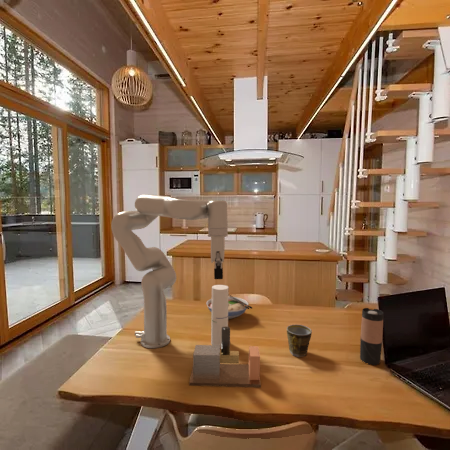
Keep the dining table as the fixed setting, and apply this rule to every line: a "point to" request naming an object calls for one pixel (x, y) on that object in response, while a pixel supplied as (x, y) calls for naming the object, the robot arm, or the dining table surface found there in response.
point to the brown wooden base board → (218, 370)
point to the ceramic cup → (298, 339)
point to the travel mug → (371, 336)
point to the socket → (254, 363)
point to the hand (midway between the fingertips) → (218, 275)
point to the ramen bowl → (233, 306)
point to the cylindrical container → (219, 312)
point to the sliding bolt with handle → (227, 349)
